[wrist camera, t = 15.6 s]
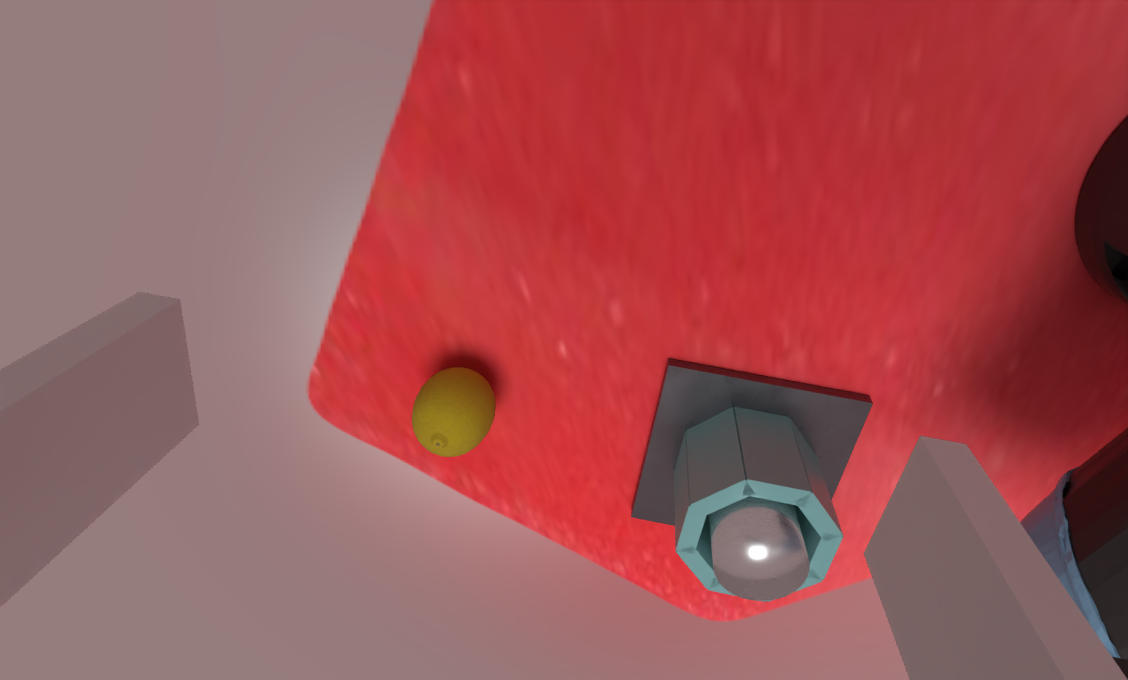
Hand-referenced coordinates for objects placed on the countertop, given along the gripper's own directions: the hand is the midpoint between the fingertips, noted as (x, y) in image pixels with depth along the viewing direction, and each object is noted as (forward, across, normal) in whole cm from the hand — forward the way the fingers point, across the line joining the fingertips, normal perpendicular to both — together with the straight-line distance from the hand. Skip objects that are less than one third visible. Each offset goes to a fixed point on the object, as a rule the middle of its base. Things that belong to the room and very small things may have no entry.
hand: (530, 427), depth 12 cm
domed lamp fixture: (+32, -13, +22) cm, 41 cm away
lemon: (+32, +8, +20) cm, 39 cm away
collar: (+31, -13, +22) cm, 40 cm away
